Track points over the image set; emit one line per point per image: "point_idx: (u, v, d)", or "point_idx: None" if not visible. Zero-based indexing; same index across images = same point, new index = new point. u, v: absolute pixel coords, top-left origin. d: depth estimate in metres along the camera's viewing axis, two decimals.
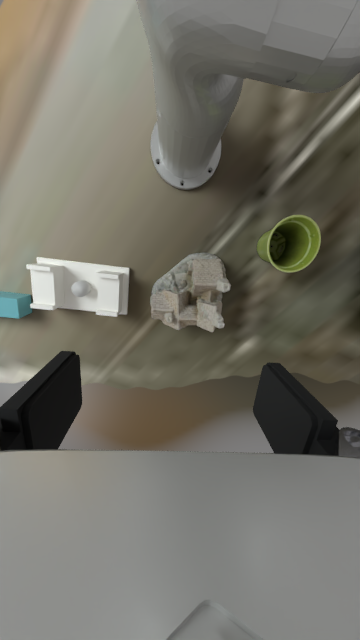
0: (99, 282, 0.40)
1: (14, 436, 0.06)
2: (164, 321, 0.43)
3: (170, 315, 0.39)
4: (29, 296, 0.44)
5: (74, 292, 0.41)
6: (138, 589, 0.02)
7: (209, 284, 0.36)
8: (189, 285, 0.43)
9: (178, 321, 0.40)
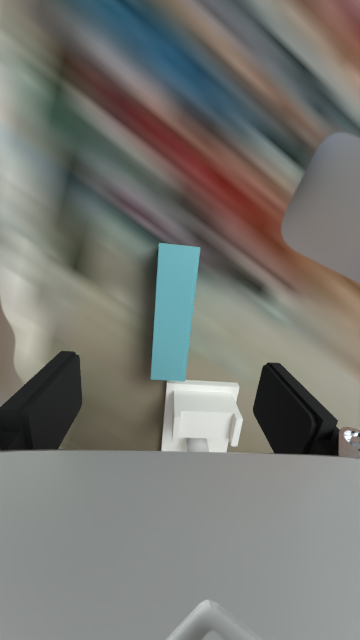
0: None
1: (14, 436, 0.06)
2: None
3: None
4: None
5: (194, 446, 0.28)
6: (138, 590, 0.02)
7: None
8: None
9: None
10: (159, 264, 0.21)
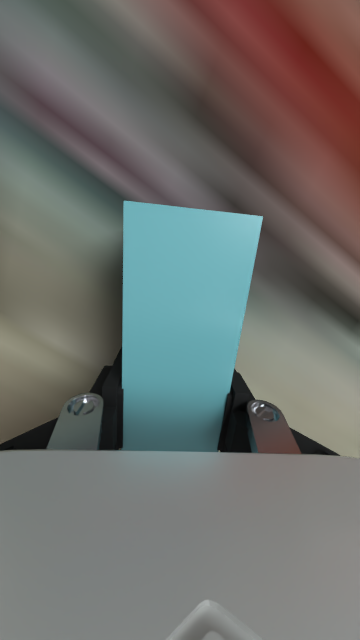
0: None
1: (113, 409, 0.07)
2: None
3: None
4: None
5: None
6: (138, 589, 0.02)
7: None
8: None
9: None
10: (128, 273, 0.06)
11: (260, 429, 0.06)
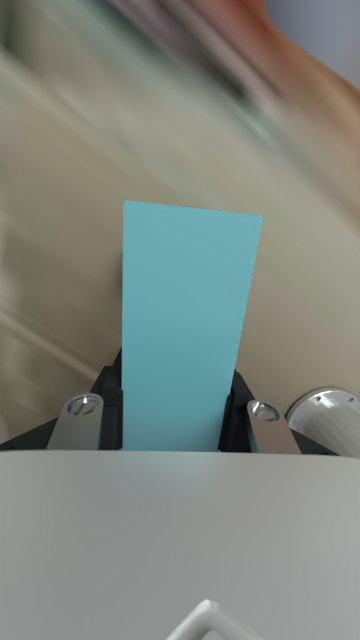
0: None
1: (113, 410, 0.07)
2: None
3: None
4: None
5: None
6: (138, 589, 0.02)
7: None
8: None
9: None
10: (128, 273, 0.06)
11: (260, 429, 0.06)
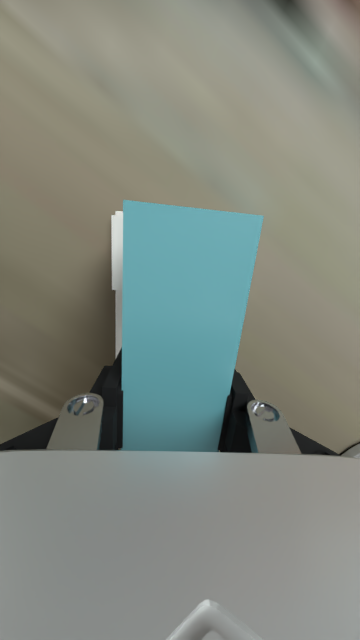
0: None
1: (113, 409, 0.07)
2: None
3: None
4: None
5: None
6: (138, 589, 0.02)
7: None
8: None
9: None
10: (128, 273, 0.06)
11: (260, 429, 0.06)
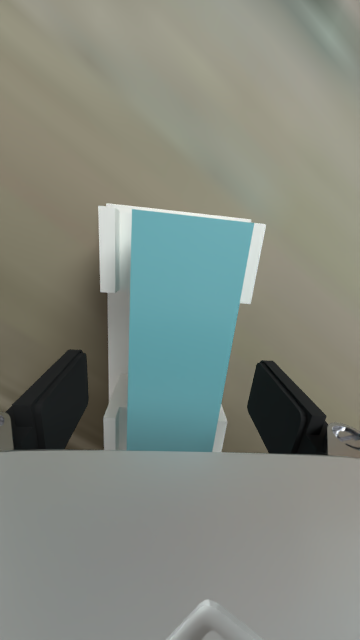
0: None
1: (27, 431, 0.06)
2: None
3: None
4: None
5: None
6: (138, 589, 0.02)
7: None
8: None
9: None
10: (135, 273, 0.07)
11: (337, 451, 0.06)
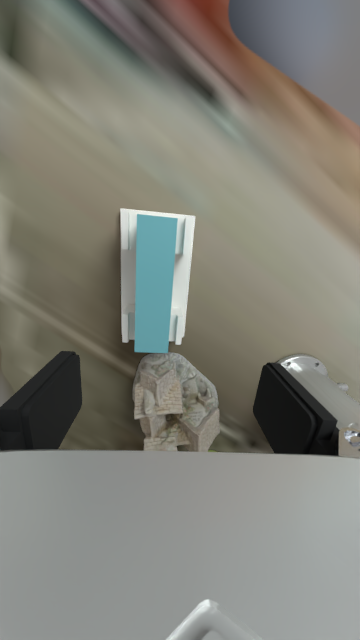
0: None
1: (14, 436, 0.06)
2: (138, 388, 0.32)
3: (153, 406, 0.30)
4: None
5: None
6: (138, 589, 0.02)
7: (200, 448, 0.30)
8: (185, 401, 0.36)
9: (146, 416, 0.30)
10: (138, 235, 0.21)
11: (349, 456, 0.06)
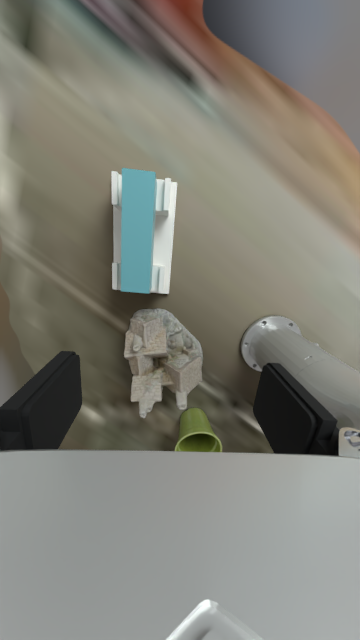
0: None
1: (14, 436, 0.06)
2: (129, 334, 0.36)
3: (140, 346, 0.34)
4: None
5: None
6: (138, 589, 0.02)
7: (181, 385, 0.34)
8: (171, 352, 0.40)
9: (134, 355, 0.34)
10: (123, 186, 0.26)
11: (349, 456, 0.06)
